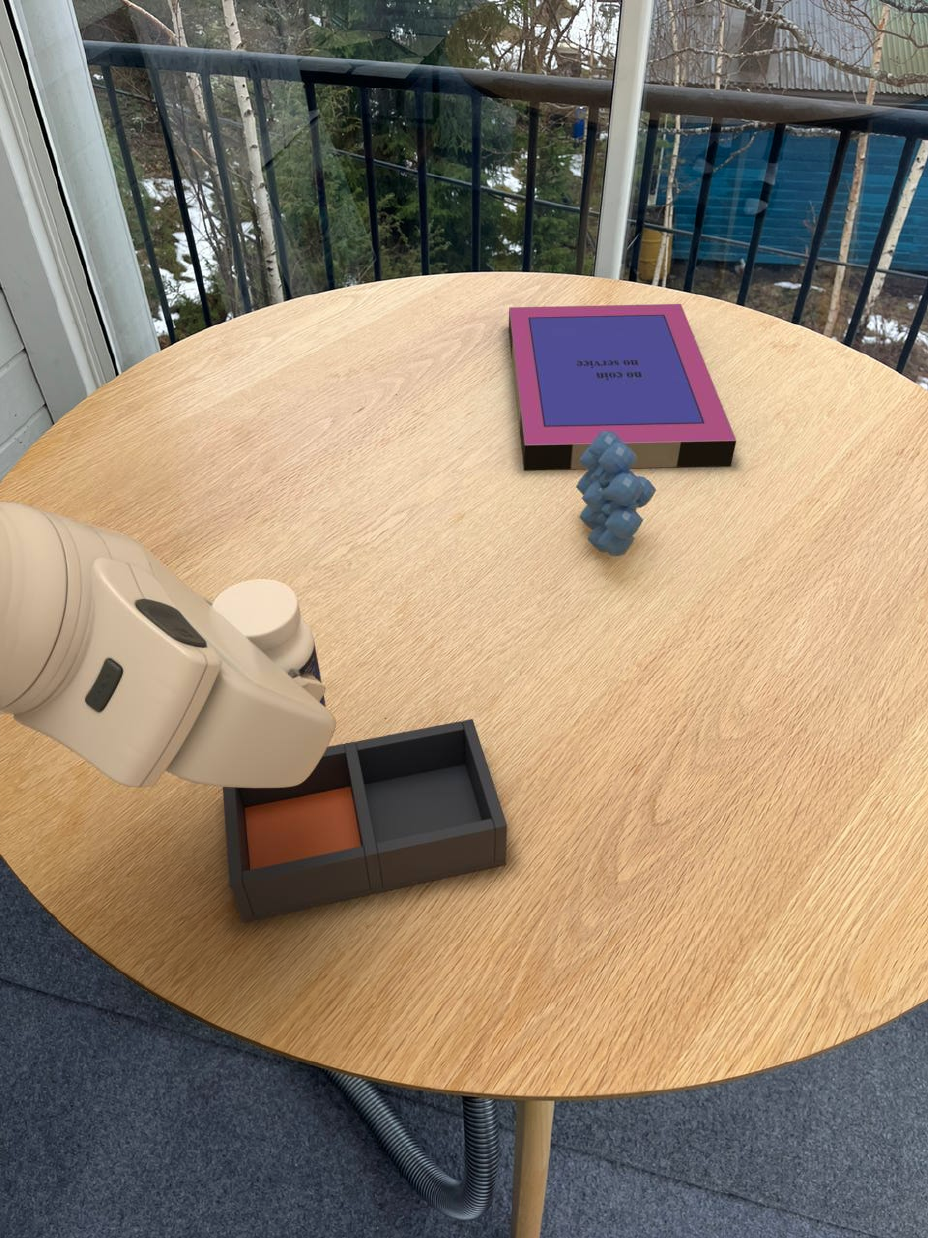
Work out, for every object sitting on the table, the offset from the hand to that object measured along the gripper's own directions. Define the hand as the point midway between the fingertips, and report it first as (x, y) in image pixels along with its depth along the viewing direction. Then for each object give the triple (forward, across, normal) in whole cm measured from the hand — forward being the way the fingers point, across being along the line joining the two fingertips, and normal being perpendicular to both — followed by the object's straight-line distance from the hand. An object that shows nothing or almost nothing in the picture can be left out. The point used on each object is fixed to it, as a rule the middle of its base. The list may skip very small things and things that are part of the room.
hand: (275, 660), depth 53 cm
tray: (+14, +3, -10) cm, 17 cm away
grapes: (+39, -5, +15) cm, 42 cm away
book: (+54, -23, +30) cm, 66 cm away
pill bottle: (+4, 0, -4) cm, 6 cm away
